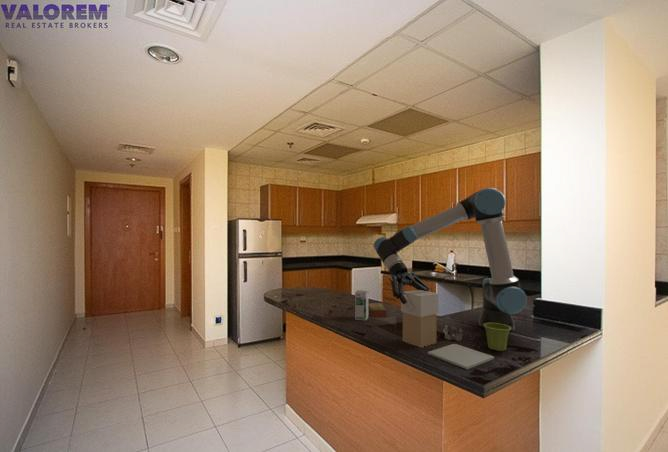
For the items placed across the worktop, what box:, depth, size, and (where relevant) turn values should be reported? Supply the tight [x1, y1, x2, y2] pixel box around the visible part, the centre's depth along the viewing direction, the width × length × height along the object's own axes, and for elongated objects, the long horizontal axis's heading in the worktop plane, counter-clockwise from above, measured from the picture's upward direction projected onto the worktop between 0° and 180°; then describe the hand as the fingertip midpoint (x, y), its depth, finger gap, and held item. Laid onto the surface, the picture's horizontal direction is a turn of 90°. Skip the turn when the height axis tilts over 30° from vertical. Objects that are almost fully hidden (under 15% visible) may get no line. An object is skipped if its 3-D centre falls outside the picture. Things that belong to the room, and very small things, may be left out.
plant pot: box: [484, 323, 511, 352], centre depth 124 cm, size 9×9×9 cm
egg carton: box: [442, 324, 464, 342], centre depth 139 cm, size 11×8×4 cm
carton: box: [368, 302, 388, 318], centre depth 178 cm, size 8×16×4 cm, turn 2°
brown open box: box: [402, 312, 437, 349], centre depth 131 cm, size 9×9×12 cm
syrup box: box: [354, 289, 369, 322], centre depth 166 cm, size 6×6×14 cm
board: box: [427, 343, 495, 370], centre depth 116 cm, size 16×16×1 cm
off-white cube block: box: [400, 289, 439, 317], centre depth 131 cm, size 10×10×10 cm
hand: (422, 307), depth 130 cm, fingers open, 13 cm apart
